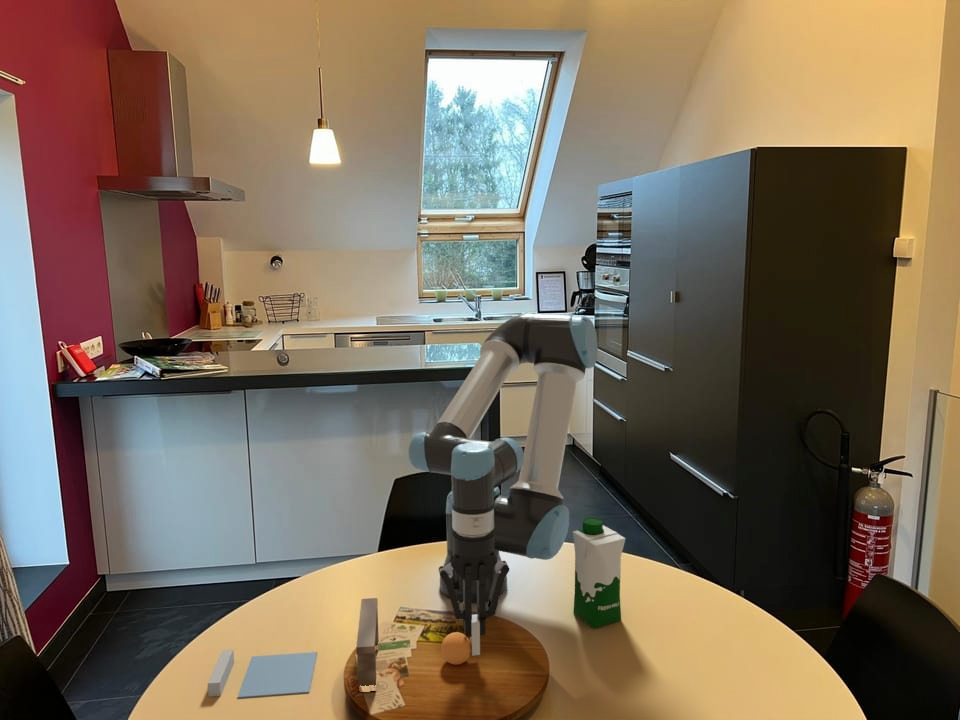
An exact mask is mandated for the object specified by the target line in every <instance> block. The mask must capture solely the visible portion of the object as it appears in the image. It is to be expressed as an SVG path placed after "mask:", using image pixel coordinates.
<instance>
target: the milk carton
mask: <svg viewBox="0 0 960 720" xmlns="http://www.w3.org/2000/svg"><path fill="white" fill-rule="evenodd" d="M572 537H573V538H572V539H573V545H574V558H575V560H574V596H573V597H574V599H573V614H574V615H576V616H577V617H578V618H579V619H581V620H582V621H583V622H584V623H586V624H587V625H588V626H589V627H591V628H592V629H598V628H600V627H604V626H607V625H611V624H613V623H616V622H620V621H622V610H621V609H622V608H621V568H622V567H621V563H622V561H621V560H622V554H623V550H624V546H625V543H626V537H624V536H622V535H621V534H619V533H618V532H617V531H614V530H613V529H611V528H609V527H608V526H605V525H603V520H602V519H601V518H596V517H586V518H584V519H583V520H582V528H581V529H577V530H574V531H573V530H572Z"/></svg>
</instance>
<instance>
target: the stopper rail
mask: <svg viewBox="0 0 960 720" xmlns="http://www.w3.org/2000/svg"><path fill="white" fill-rule="evenodd" d="M234 663H235V655H234V648H233V649H222V650H221V652H220V654H219V657H218V659H217V661H216V664H215V666H214V668H213V670H212V672H211V675H210V677H209V679H208V681H207V690H208V694H207V695H208V697H209V698H211V697H220V696H222V694H223V692H224V689H225V686H226V683H227V681H228V679H229V676H230V673H231V671H232V669H233V665H234Z"/></svg>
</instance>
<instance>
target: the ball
mask: <svg viewBox="0 0 960 720" xmlns="http://www.w3.org/2000/svg"><path fill="white" fill-rule="evenodd" d="M440 650H441V655H442V657H443V659H444V660H445V661H447V663H449V664H452V665H461V664H463V663H464V662H465V663H466V661H467V660H468V659H469V658H470V655H471V654H472V653H471V644H470V638H469V637H466V635H465V633H462V632H459V631H456V632H455V631H454V632H451V633H449V634H447V635H446V636H445V637H444V638H443V640H442V642H441V649H440Z"/></svg>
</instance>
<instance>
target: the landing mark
mask: <svg viewBox="0 0 960 720" xmlns="http://www.w3.org/2000/svg"><path fill="white" fill-rule="evenodd" d="M317 656H318V651H310V652H296V653H284V654H268V655H252V656H251V658H250V661H249V663H248V666H247V669H246V672H245V675H244V678H243V681H242V684H241V686H240V689H239V692H238V694H237V699H243V698H245V699H246V698H256V697H257V698H258V697H267V696H269V697H270V696H283V695H297V694H309V693H310V691H311V685H312V680H313V676H314V671H315V665H316V662H317Z"/></svg>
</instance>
